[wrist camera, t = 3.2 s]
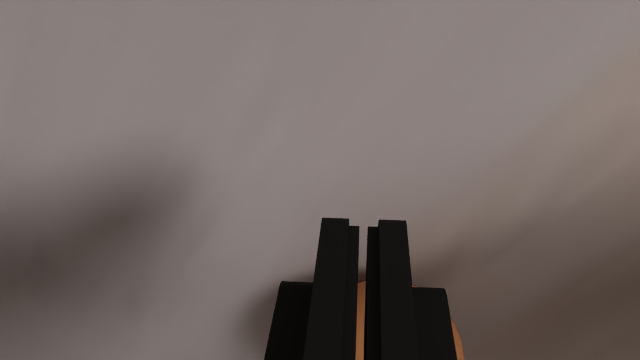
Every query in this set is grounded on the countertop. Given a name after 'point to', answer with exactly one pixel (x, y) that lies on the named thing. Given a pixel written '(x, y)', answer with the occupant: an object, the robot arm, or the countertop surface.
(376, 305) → the robot arm
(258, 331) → the countertop surface
